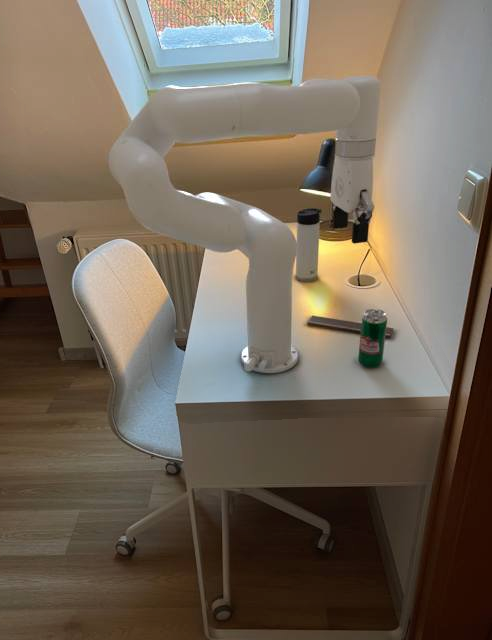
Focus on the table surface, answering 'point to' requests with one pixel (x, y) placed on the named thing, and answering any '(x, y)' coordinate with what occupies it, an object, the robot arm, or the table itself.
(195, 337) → the table surface
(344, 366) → the table surface
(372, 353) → the soda can
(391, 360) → the table surface
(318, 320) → the ruler
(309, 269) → the travel mug
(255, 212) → the robot arm
